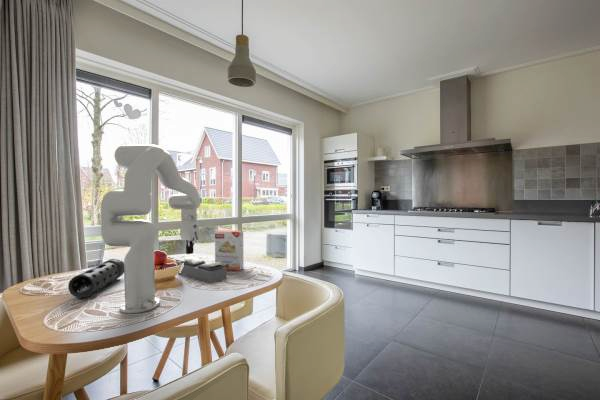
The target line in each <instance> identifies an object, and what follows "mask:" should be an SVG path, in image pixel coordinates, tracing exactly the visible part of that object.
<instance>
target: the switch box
mask: <svg viewBox="0 0 600 400" xmlns="http://www.w3.org/2000/svg"><path fill="white" fill-rule="evenodd" d="M181 263H184V267H183V269H182V271H181V273H180V274H179V275H181V276H186V277H189V278H193V279H196V280H199V281H202V282H206V283H211V284H212V283H215V282H218V281H221V280H225V279H227V270H226V268H225V267H223V265H215V266H213V267H209V268H208V267H204V266H201V264H205V263H206V261H205V260H202V262H201V263H197V264H192V263H188V262H187V261H185V260H184V261H181ZM181 263H180V264H181Z"/></svg>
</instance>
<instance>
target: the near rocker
mask: <svg viewBox="0 0 600 400" xmlns="http://www.w3.org/2000/svg"><path fill="white" fill-rule="evenodd" d="M219 264H220V262H215V261H214V262H211V261H210V262H205V264H201V266H204V267H208V268H209V267H213V266H215V265H219Z"/></svg>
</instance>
